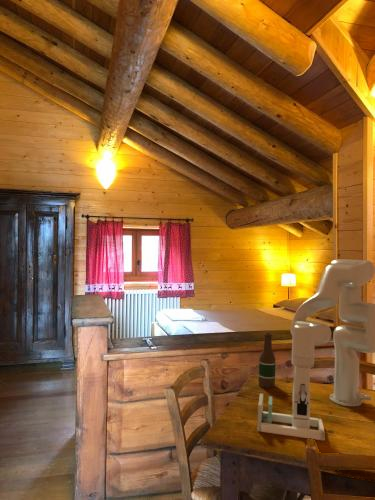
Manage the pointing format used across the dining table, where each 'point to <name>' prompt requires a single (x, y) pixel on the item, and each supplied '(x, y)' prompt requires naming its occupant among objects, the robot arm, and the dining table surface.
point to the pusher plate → (269, 412)
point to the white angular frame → (288, 429)
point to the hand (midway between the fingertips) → (301, 409)
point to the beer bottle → (267, 364)
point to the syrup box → (297, 419)
